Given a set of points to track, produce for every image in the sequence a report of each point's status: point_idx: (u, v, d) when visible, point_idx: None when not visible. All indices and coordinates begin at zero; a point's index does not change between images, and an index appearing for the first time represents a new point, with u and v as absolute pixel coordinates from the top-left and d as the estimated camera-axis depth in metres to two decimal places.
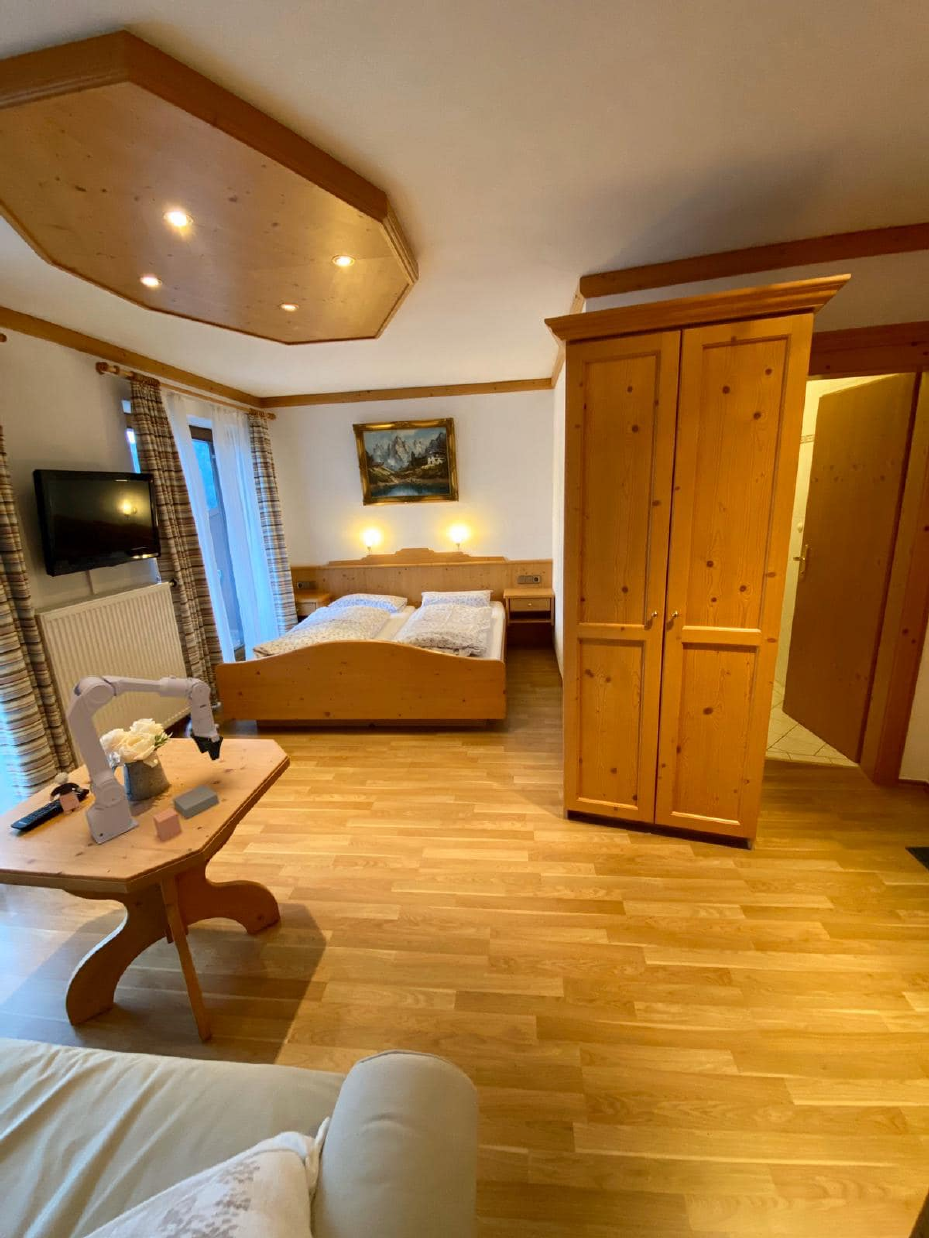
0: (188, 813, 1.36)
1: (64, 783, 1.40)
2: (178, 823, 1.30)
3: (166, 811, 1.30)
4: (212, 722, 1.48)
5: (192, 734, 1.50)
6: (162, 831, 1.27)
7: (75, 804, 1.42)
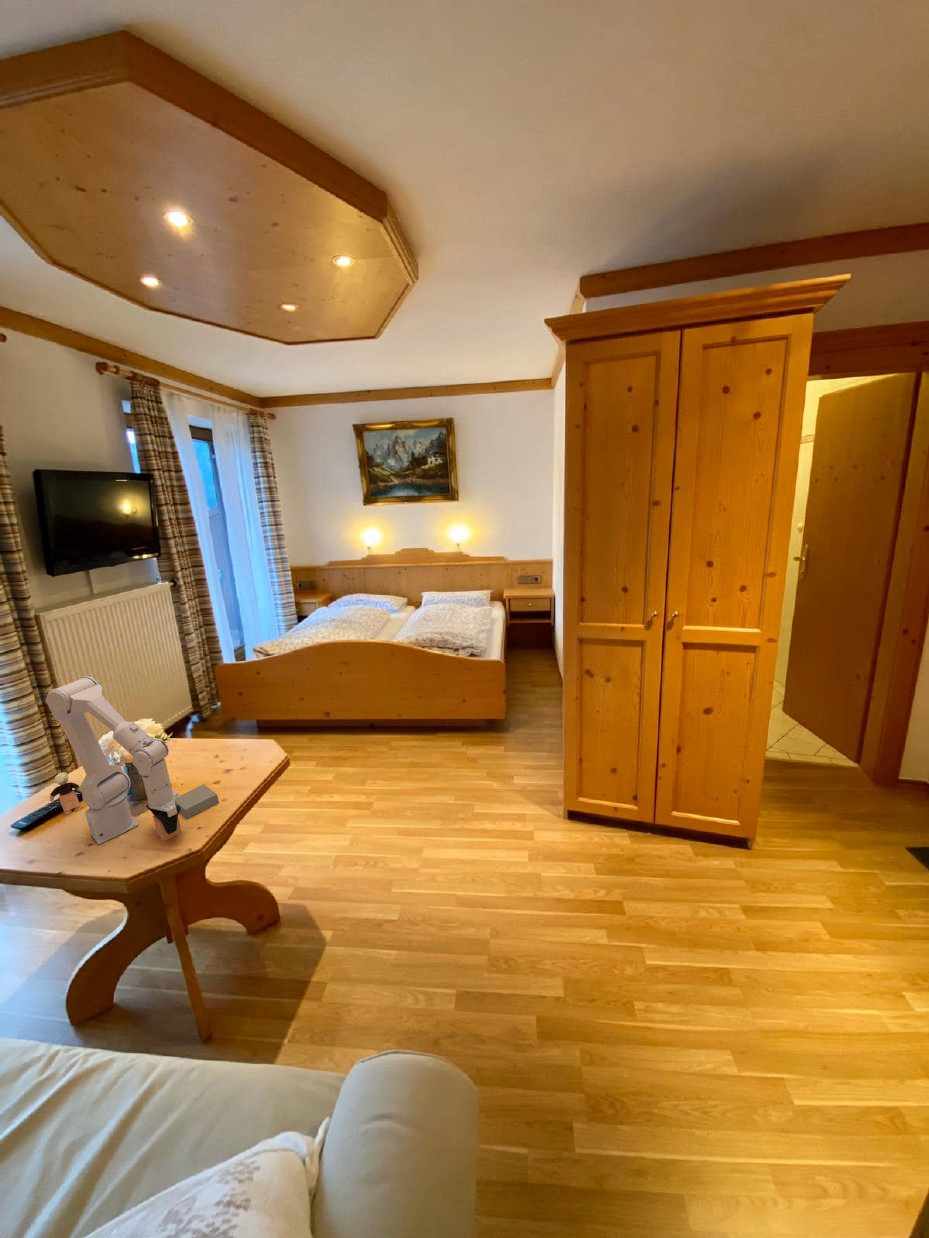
0: (188, 813, 1.36)
1: (64, 783, 1.40)
2: (178, 823, 1.30)
3: None
4: (170, 791, 1.27)
5: None
6: (162, 831, 1.27)
7: (75, 804, 1.42)
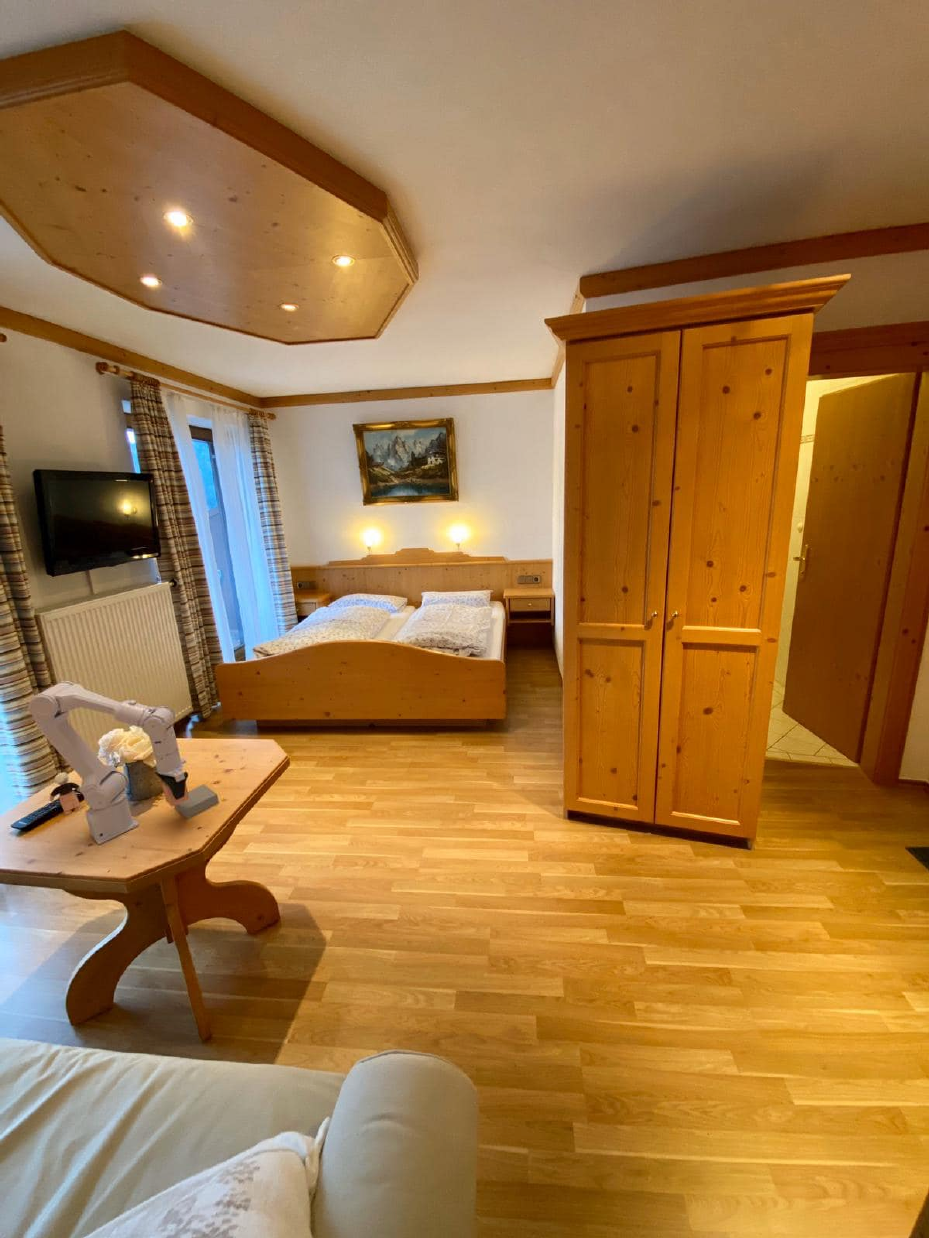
0: (188, 813, 1.36)
1: (64, 783, 1.40)
2: (186, 789, 1.33)
3: None
4: (178, 758, 1.30)
5: (158, 772, 1.32)
6: (170, 796, 1.30)
7: (75, 804, 1.42)
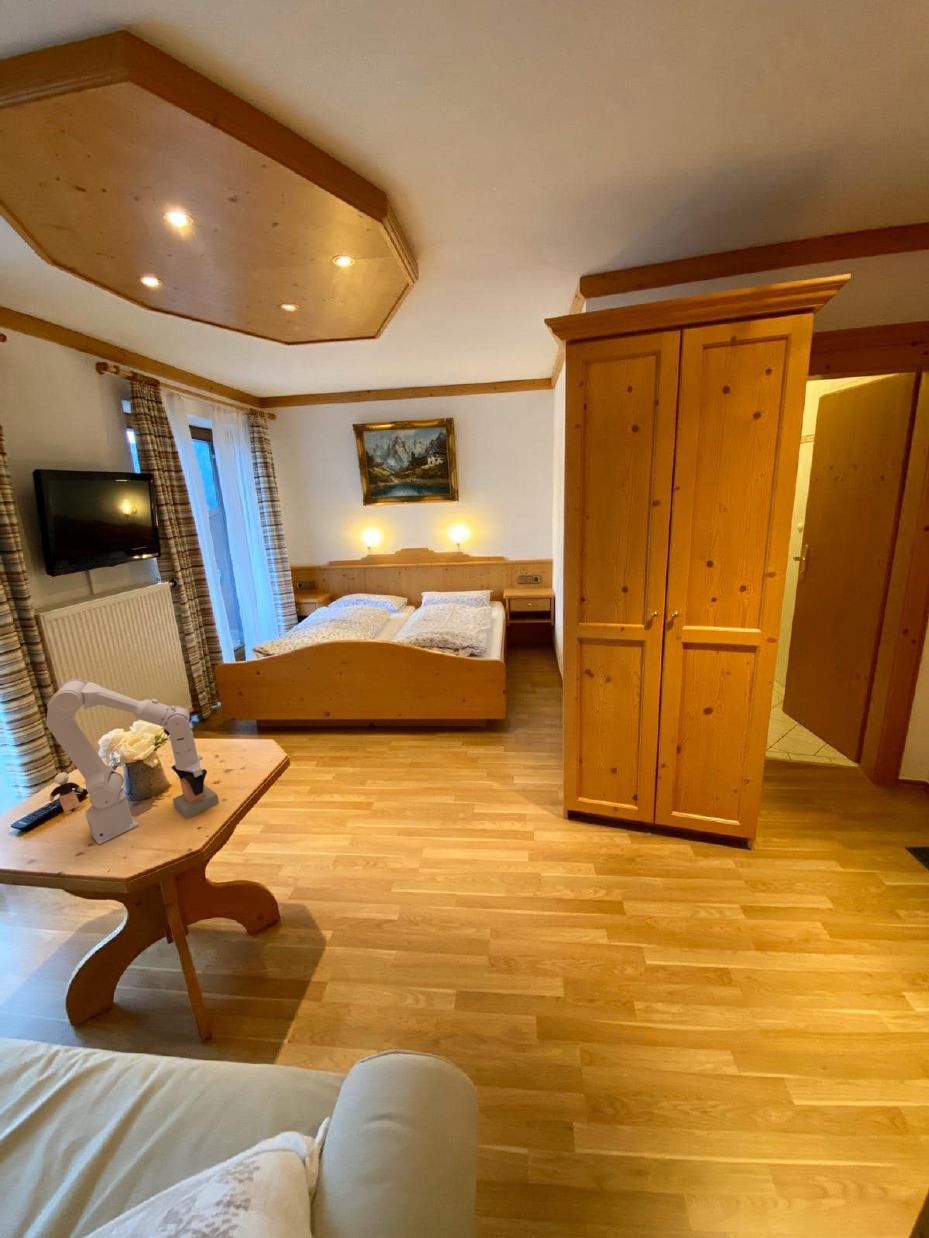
0: (188, 813, 1.36)
1: (64, 783, 1.40)
2: (203, 787, 1.41)
3: None
4: (195, 754, 1.38)
5: (174, 766, 1.40)
6: (188, 793, 1.38)
7: (75, 804, 1.42)
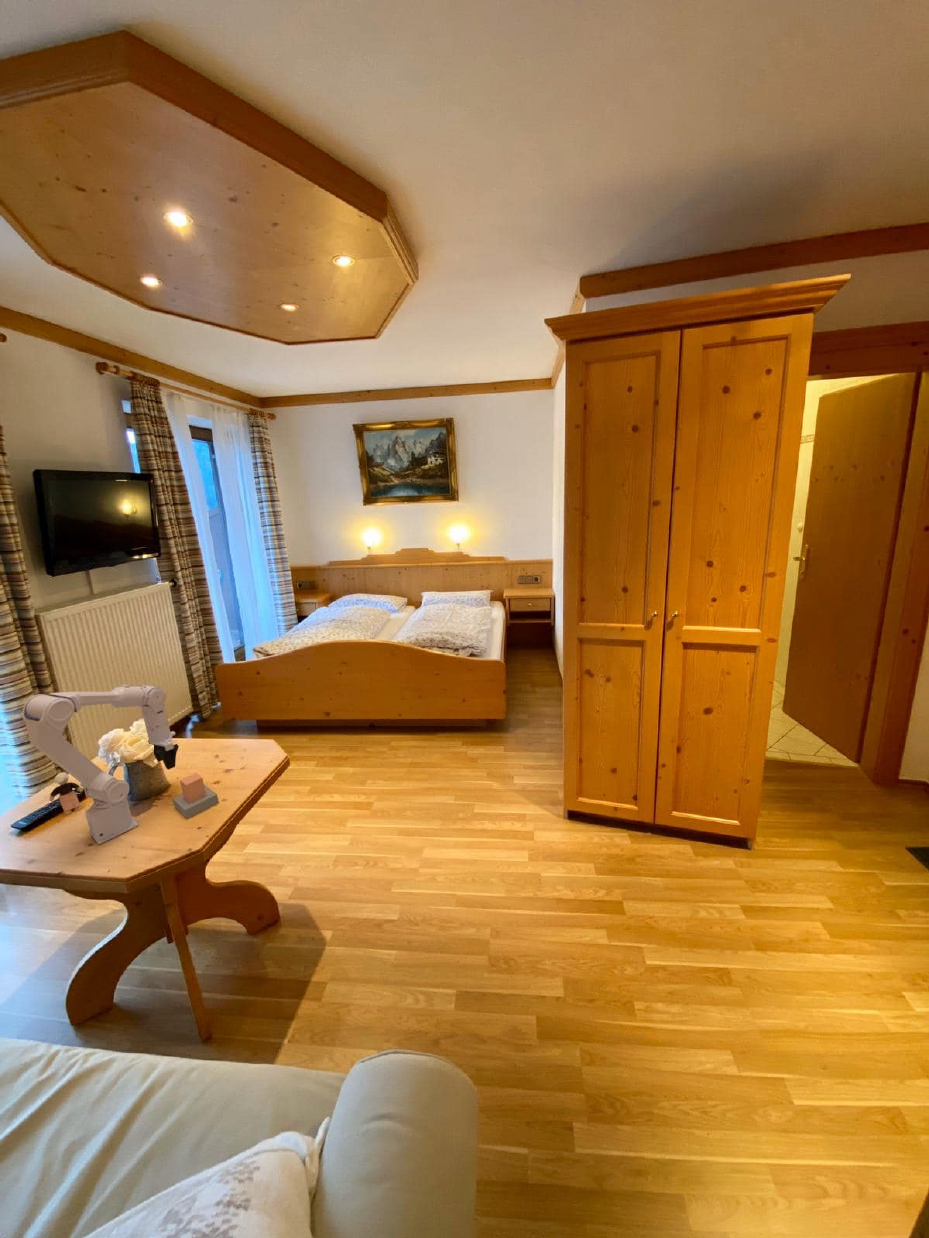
0: (188, 813, 1.36)
1: (64, 783, 1.40)
2: (203, 787, 1.41)
3: (192, 776, 1.41)
4: (167, 730, 1.43)
5: None
6: (188, 793, 1.38)
7: (75, 804, 1.42)
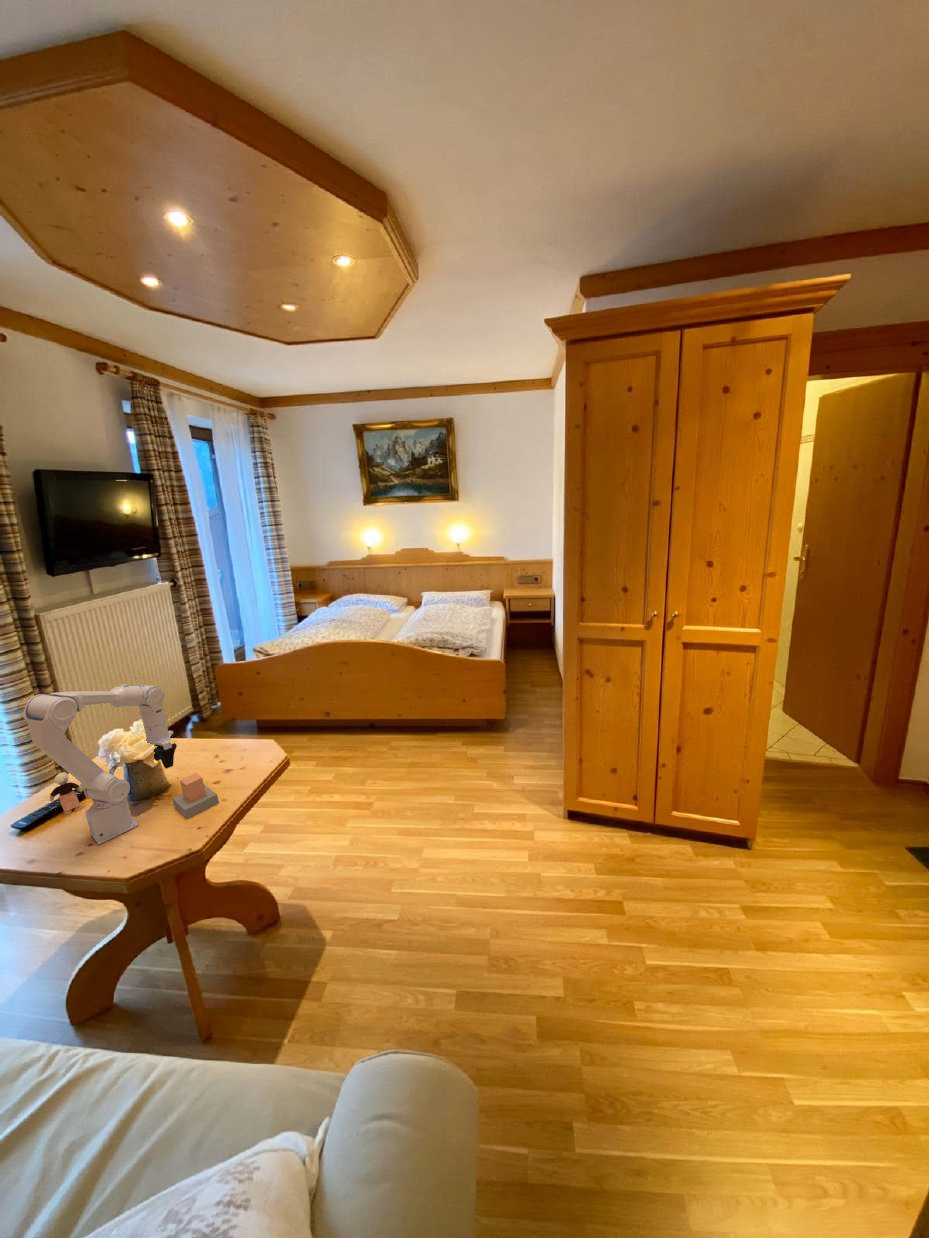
0: (188, 813, 1.36)
1: (64, 783, 1.40)
2: (203, 787, 1.41)
3: (192, 776, 1.41)
4: (165, 729, 1.44)
5: None
6: (188, 793, 1.38)
7: (75, 804, 1.42)
